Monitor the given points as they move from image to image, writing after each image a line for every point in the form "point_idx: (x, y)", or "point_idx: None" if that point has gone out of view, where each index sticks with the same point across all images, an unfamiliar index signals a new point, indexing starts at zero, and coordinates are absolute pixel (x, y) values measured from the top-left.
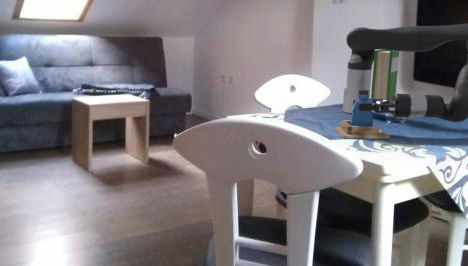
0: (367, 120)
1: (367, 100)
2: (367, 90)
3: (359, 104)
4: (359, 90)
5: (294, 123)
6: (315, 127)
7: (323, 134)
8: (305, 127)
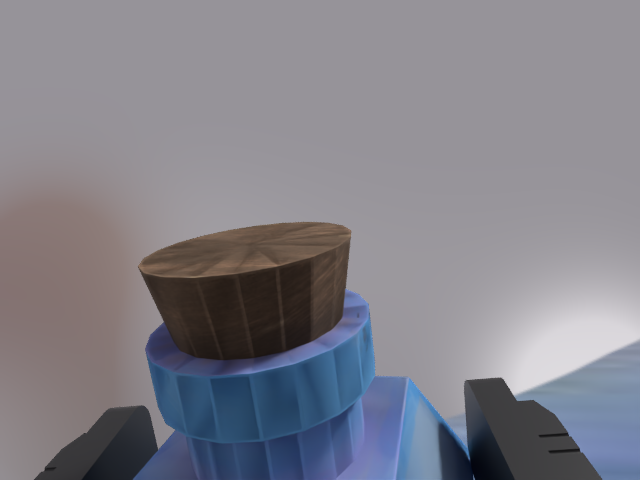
0: None
1: (204, 475)
2: (190, 266)
3: (118, 412)
4: (240, 230)
5: (612, 363)
6: None
7: None
8: None
